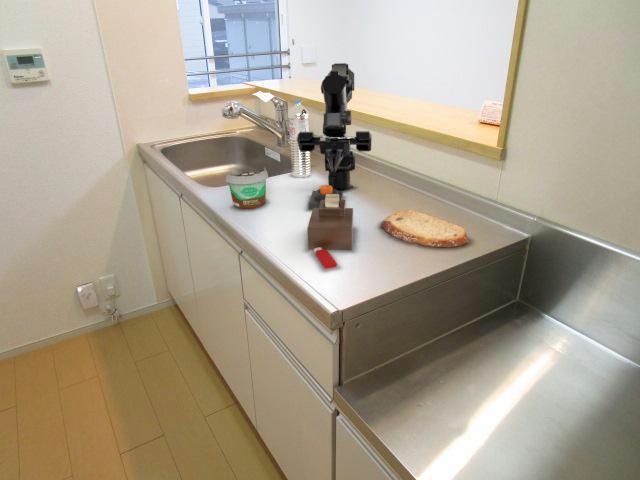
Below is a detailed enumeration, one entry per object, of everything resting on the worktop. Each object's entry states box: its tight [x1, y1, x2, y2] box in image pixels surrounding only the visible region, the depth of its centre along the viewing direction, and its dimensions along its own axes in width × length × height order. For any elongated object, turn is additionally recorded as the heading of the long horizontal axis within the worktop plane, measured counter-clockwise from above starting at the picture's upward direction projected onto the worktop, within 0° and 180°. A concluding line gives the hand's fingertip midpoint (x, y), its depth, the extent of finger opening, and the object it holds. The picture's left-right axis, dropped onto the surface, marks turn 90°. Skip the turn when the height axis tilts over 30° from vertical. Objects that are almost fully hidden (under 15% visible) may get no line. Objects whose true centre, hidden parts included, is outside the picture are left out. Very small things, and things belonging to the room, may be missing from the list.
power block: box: [308, 188, 344, 211], centre depth 130 cm, size 11×9×4 cm
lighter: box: [313, 247, 338, 269], centre depth 99 cm, size 3×1×8 cm
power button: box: [319, 184, 332, 194], centre depth 129 cm, size 4×4×2 cm
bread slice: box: [380, 209, 469, 248], centre depth 110 cm, size 18×18×4 cm
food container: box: [225, 167, 269, 211], centre depth 127 cm, size 12×6×10 cm, turn 118°
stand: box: [307, 199, 354, 251], centre depth 107 cm, size 13×10×8 cm
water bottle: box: [287, 98, 312, 178], centre depth 150 cm, size 7×7×25 cm
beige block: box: [325, 194, 339, 207], centre depth 108 cm, size 3×3×2 cm
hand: (333, 171), depth 113 cm, fingers closed
